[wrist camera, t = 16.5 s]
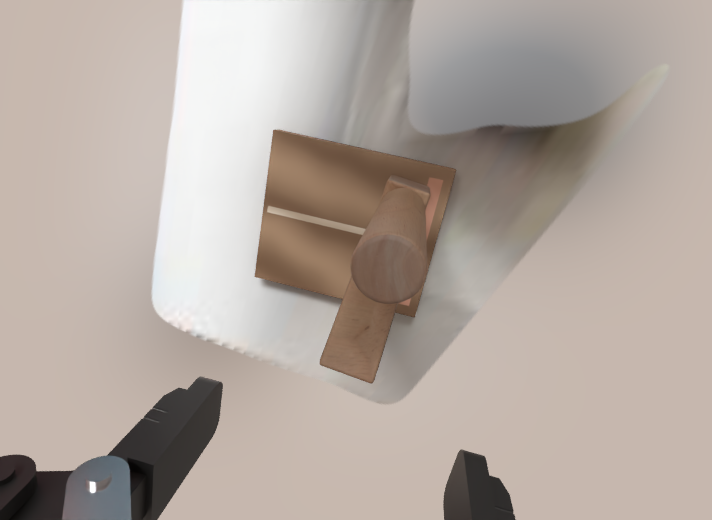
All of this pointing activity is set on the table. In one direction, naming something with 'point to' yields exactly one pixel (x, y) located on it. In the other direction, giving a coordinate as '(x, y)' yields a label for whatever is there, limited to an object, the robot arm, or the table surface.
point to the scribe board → (333, 210)
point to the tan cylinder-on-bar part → (380, 279)
